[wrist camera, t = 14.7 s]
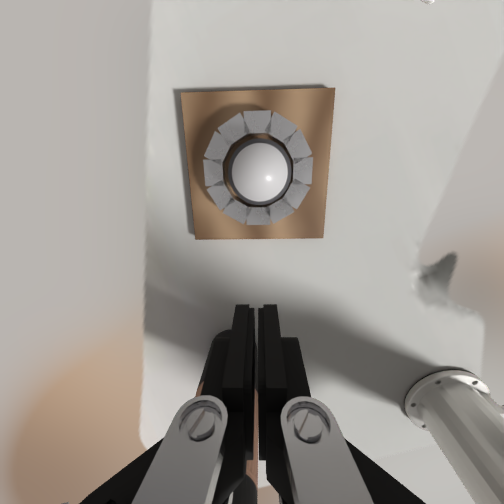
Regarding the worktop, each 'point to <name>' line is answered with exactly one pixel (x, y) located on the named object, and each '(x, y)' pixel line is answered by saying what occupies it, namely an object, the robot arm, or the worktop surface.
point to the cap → (259, 171)
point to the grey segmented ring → (255, 126)
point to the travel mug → (247, 489)
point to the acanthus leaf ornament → (428, 1)
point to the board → (233, 102)
